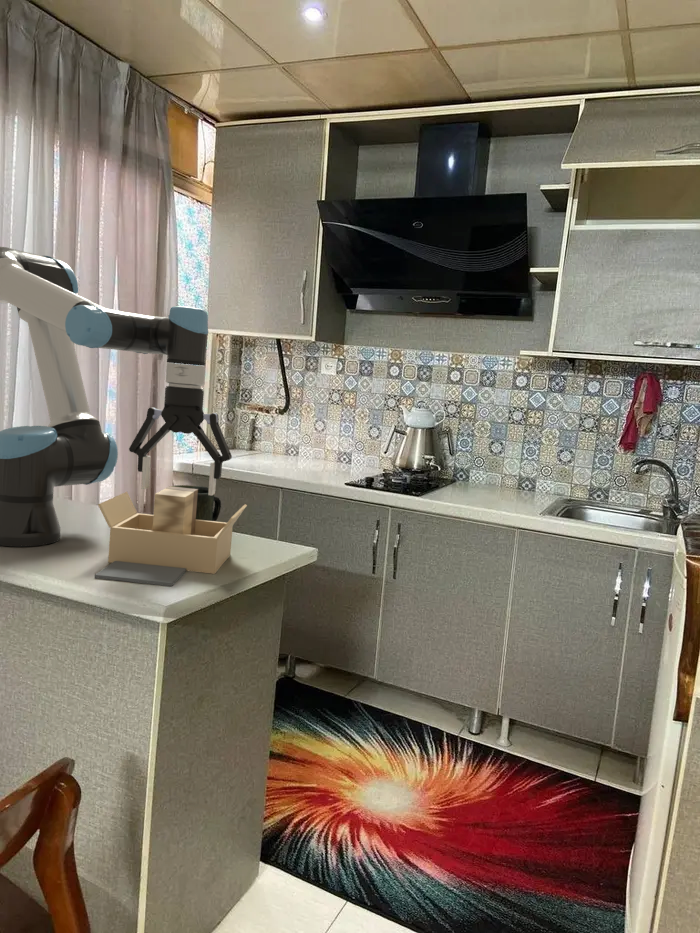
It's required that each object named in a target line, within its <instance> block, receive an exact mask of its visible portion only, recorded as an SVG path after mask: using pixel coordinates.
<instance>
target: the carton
mask: <svg viewBox="0 0 700 933" xmlns="http://www.w3.org/2000/svg"><path fill="white" fill-rule="evenodd" d="M97 505H98V507H99V510H100V512H101V514H102V516H103V518H104V520H105V522H106V524H107V526H108V528H110V529H109V541H108V542H109V545H108V561H107V562H108V563H109V564H111V563H113V562H114V561H122V562H131V563H140V564H150V565H159V566H168V567H178V568H186V572H195V573H205V574H212V575H215V574H216V573H217V572H218V571H219V569H220V568H221V567H222V566H223V565H224V563H225V562H226V561H227V559H229V557H230V556H231V553H232V552H231V551H232V537H233V526H234V525H235V523H236V522H237V521H238V519H239V517H240V516H241V515H242V513H243V512H244V510H245V509H246V508H247V506H248V505H247V504H245V503H244V505H242V506H241V507H240V508H239V509H238V510H237V511H236V512H235V513H234V514H233V515H232V516H231V517H230V518H229V519H228V521H227V522H225V521H217V520H216V521H206V520H197V519H196V522H195V535H190V534H180V533H171V532H162V531H153V516H154V514H149V513H141V512H140V513H139V512H138V511H137V509H136V507H135V506H134V504H133V501H132V499H131V497H130V495H129V493H128V491H125V492H123V493H120V494H119V495H115V496H114V497H111V498H110V499H107V500H105V501H103V502H100V503H98V504H97Z"/></svg>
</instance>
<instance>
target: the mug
mask: <svg viewBox="0 0 700 933" xmlns="http://www.w3.org/2000/svg"><path fill="white" fill-rule="evenodd" d="M171 486H172V487H181V488H191V489H198V496H197V509H196V519H197V520H206V521H216V522H217V521H218V519H219V515H220V513H221V508H222V501H221V498H220V497H218V496H215V495H216V494H217V490H216V489H215V494H214V495H212V496H211V495H208V493H209V486H207V487H206V486H203V485H192V484H191V485H190V484H177V485H171Z"/></svg>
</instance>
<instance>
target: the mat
mask: <svg viewBox="0 0 700 933" xmlns="http://www.w3.org/2000/svg"><path fill="white" fill-rule="evenodd" d="M186 572H187V571H186V568H178V567H168V566H159V565H150V564H140V563H131V562H122V561H114V562H113V563H109V564H108V565H107V566H105V567H104V568H102V569H101V570H100V571H98V572H97V573H95V574H94V579H103V580H111V581H119V582H130V583H137V584H138V583H140V584H147V585H148V584H149V585H158V586H165V587H166V586H167V587H172V586H173V585H175V583H176V582H177V581H178V580H179V579H180V578H181V577H182V576H183V575H184V574H185V573H186Z"/></svg>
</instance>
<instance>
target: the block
mask: <svg viewBox="0 0 700 933" xmlns="http://www.w3.org/2000/svg"><path fill="white" fill-rule="evenodd" d="M172 486H173V485H171V486H169V485H168V487H166V488H164V489H162V490H160V491H157V492H156V493H154V501H153V502H154V504H153V505H154V506H153V515H154V516H153V531H162V532H171V533H180V534H190V535H195V522H196V509H197V496H198V489H191V488H181V487H172Z"/></svg>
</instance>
